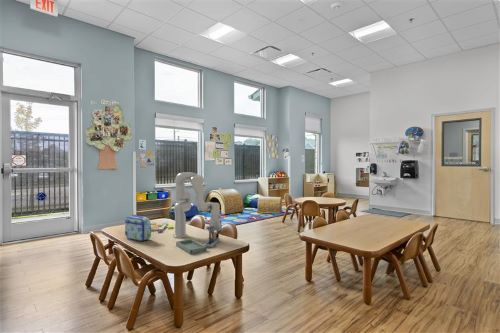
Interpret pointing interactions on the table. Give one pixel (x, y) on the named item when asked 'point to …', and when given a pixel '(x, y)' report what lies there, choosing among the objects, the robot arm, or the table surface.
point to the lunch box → (137, 228)
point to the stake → (210, 234)
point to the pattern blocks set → (159, 227)
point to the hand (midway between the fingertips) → (215, 237)
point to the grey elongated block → (212, 240)
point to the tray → (191, 246)
